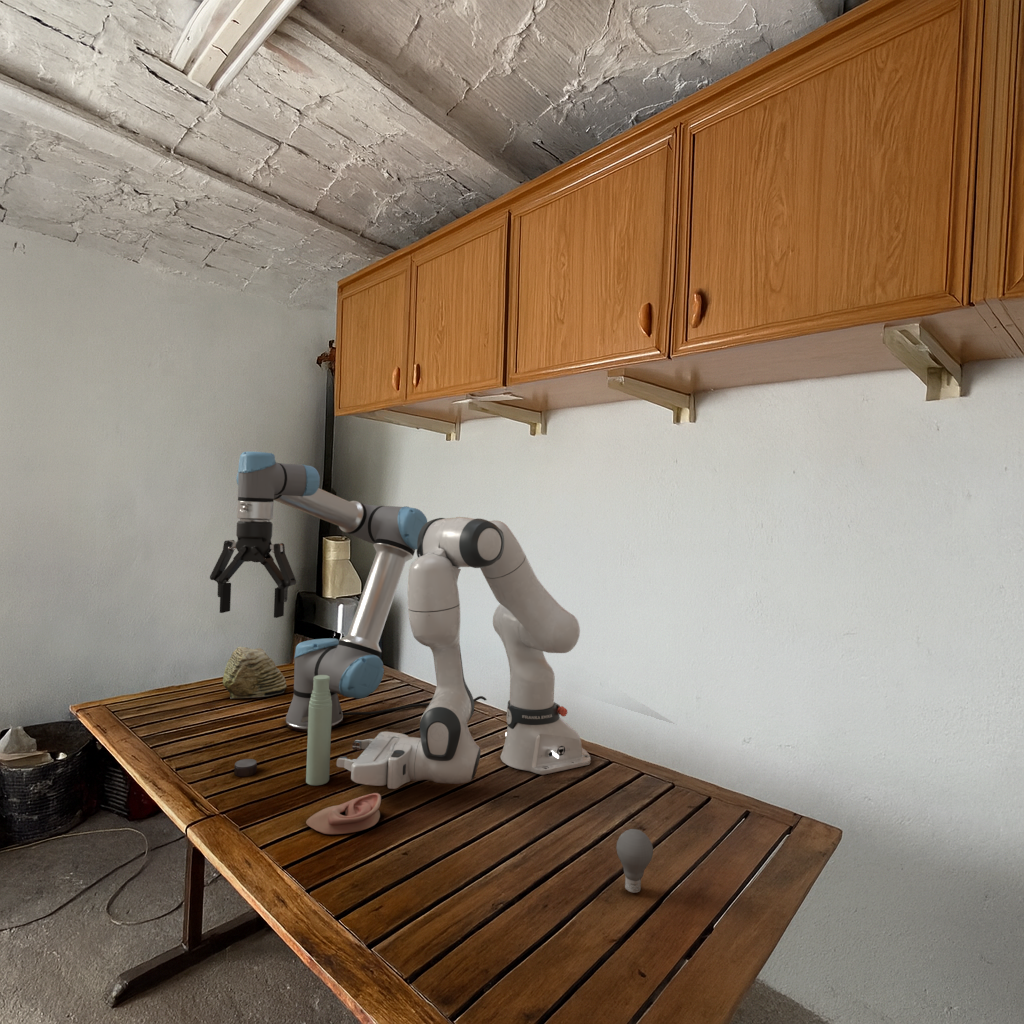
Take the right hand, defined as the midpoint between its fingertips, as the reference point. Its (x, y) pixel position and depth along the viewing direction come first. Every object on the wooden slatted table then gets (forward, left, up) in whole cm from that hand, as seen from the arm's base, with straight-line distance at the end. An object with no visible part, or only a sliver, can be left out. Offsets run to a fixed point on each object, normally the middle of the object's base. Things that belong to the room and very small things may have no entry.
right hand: (345, 752), depth 141 cm
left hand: (+21, -11, +29) cm, 38 cm away
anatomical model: (+1, +17, -7) cm, 18 cm away
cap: (+21, -10, -5) cm, 24 cm away
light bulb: (-43, +52, -7) cm, 68 cm away
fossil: (+22, -68, -7) cm, 72 cm away
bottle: (+6, -2, -7) cm, 9 cm away
